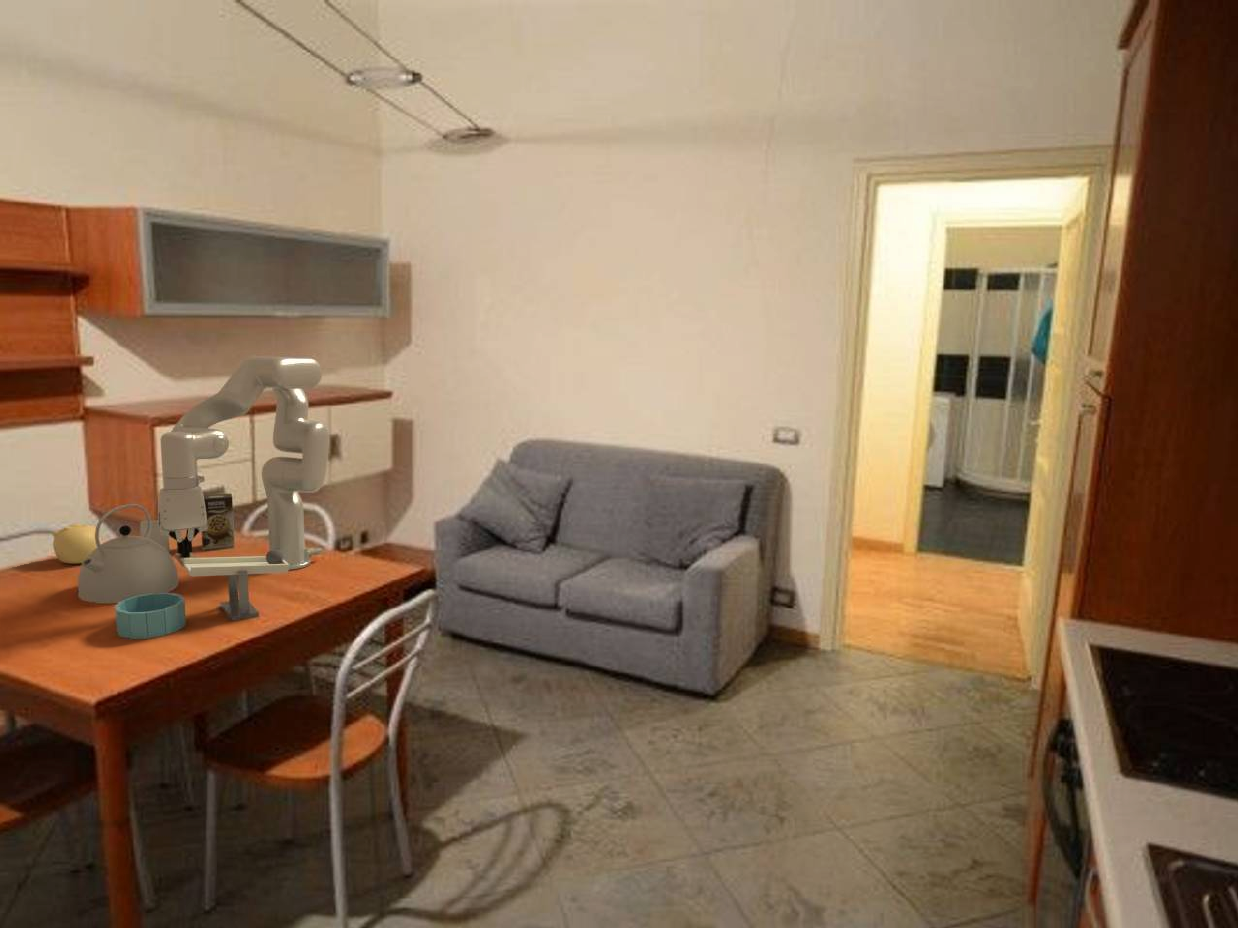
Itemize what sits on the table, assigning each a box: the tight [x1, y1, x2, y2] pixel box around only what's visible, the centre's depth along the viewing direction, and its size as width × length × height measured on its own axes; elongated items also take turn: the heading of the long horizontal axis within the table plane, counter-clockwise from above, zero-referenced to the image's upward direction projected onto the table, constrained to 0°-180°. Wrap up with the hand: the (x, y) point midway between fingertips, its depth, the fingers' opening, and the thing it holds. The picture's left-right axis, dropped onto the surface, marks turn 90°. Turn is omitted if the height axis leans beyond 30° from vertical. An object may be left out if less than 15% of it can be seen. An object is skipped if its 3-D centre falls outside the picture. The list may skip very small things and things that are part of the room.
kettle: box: [77, 503, 180, 604], centre depth 214 cm, size 25×23×22 cm
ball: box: [265, 549, 283, 564], centre depth 207 cm, size 4×4×4 cm
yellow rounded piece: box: [52, 523, 103, 564], centre depth 238 cm, size 12×12×11 cm
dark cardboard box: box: [200, 493, 236, 551], centre depth 256 cm, size 9×6×16 cm
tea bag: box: [139, 520, 171, 554], centre depth 247 cm, size 4×7×10 cm, turn 105°
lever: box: [174, 552, 290, 578], centre depth 205 cm, size 22×18×3 cm
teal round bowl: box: [114, 592, 187, 640], centre depth 191 cm, size 14×14×6 cm
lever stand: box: [219, 571, 260, 622], centre depth 202 cm, size 6×12×12 cm, turn 38°
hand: (185, 555), depth 204 cm, fingers closed
